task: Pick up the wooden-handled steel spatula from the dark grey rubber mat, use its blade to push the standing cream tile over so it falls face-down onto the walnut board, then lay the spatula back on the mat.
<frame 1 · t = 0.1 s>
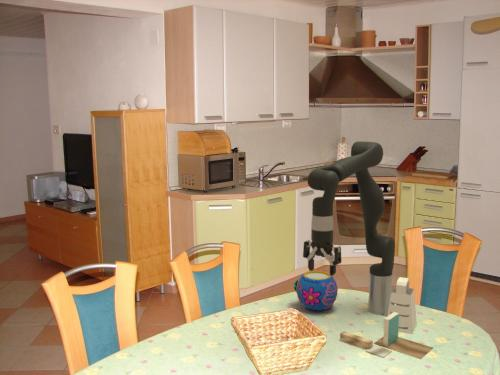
hand: (321, 272, 185), 29 cm above the table, fingers open, 8 cm apart
board: (403, 348, 191), on the table
tool mat: (364, 349, 190), on the table
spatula: (368, 349, 189), point 1 cm above the table, touching tool mat
grater: (401, 329, 207), on the table
tile: (390, 341, 194), point 1 cm above the table, touching board
ceramic pot: (316, 308, 228), on the table
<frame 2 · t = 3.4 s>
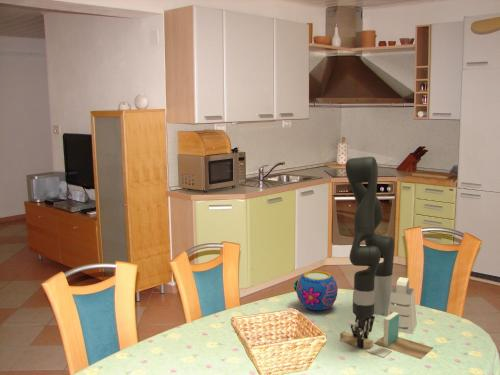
hand: (362, 346, 190), 1 cm above the table, fingers closed on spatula, 2 cm apart
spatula: (368, 349, 189), point 1 cm above the table, touching gripper, tool mat
everything else where it was.
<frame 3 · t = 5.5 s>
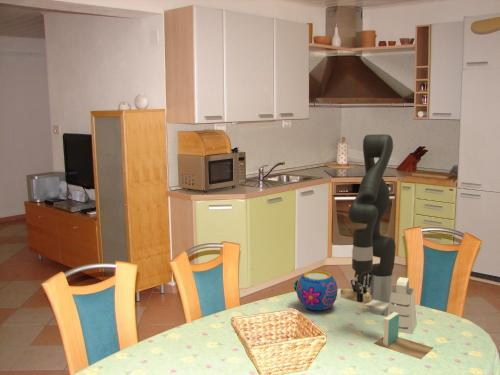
hand: (361, 300, 200), 14 cm above the table, fingers closed on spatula, 2 cm apart
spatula: (367, 303, 199), point 13 cm above the table, touching gripper
everything else where it was.
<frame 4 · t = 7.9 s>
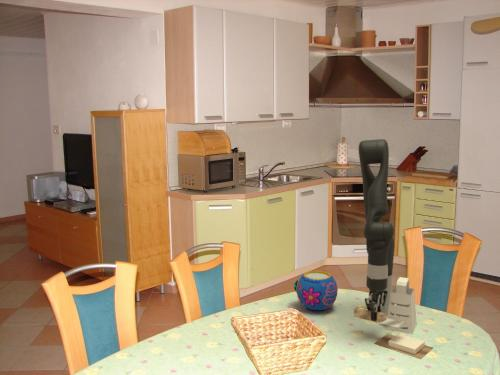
hand: (375, 319, 197), 8 cm above the table, fingers closed on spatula
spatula: (382, 322, 195), point 8 cm above the table, touching gripper
tile: (393, 339, 193), point 2 cm above the table, tilted 90°, touching board
everything else where it was.
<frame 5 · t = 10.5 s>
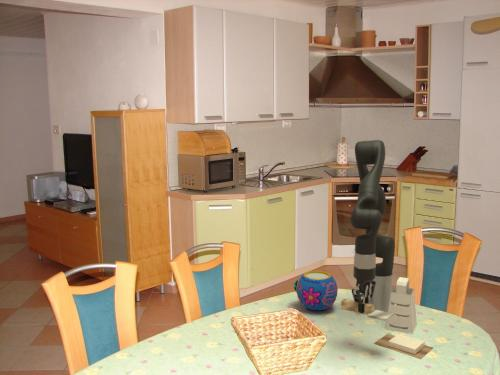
hand: (363, 311, 188), 14 cm above the table, fingers closed on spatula, 2 cm apart
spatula: (370, 314, 187), point 14 cm above the table, touching gripper
everything else where it was.
when the fingers open (3 cm above the table, at t = 12.7 s): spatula drops 2 cm, resting on tool mat.
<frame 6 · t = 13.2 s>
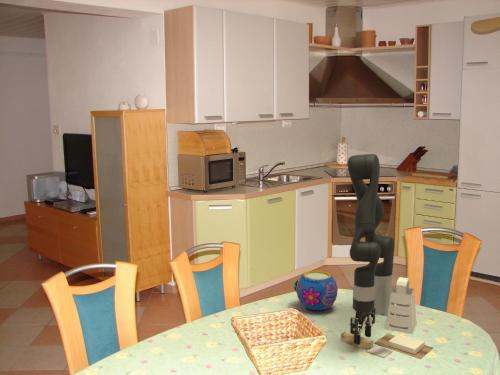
hand: (362, 340, 190), 3 cm above the table, fingers open, 7 cm apart
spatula: (369, 349, 189), point 1 cm above the table, touching tool mat
everything else where it was.
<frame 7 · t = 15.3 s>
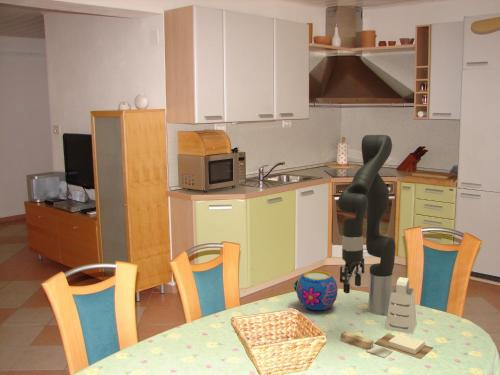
hand: (352, 289, 196), 20 cm above the table, fingers open, 8 cm apart
nothing on the table moved.
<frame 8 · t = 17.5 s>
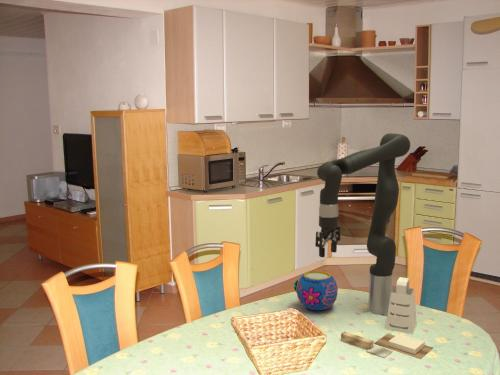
hand: (327, 254, 210), 28 cm above the table, fingers open, 8 cm apart
nothing on the table moved.
at the end: tile tilted 90°; tile inside the target area (3.9 cm from its centre), point 2.1 cm above the table; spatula inside the target area (1.8 cm from its centre), point 0.6 cm above the table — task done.
